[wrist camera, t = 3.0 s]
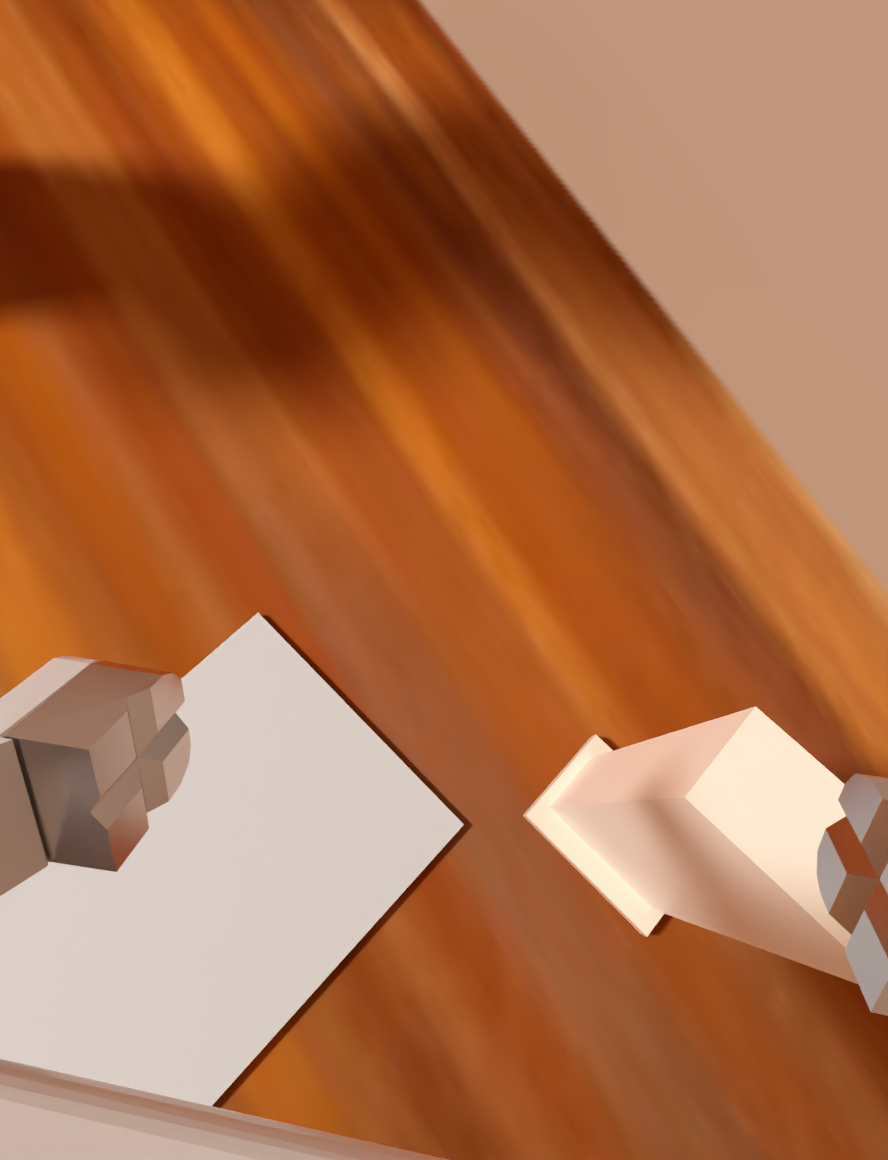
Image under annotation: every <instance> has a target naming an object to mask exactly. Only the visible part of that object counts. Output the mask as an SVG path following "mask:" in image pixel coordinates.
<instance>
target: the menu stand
mask: <svg viewBox="0 0 888 1160" xmlns="http://www.w3.org/2000/svg"><path fill="white" fill-rule="evenodd" d="M844 785H845V784H844V783H843V782H841V781H840V780H839V779H838V778H837V777H836V776H835V775H833V774H832V773H831V772H830V771H829V770H828V769H827V768H825V767H824V766H823V765H822V764H821V763H820V762H819V761H817V760H816V759H815V758H814V757H813V756H812V755H811V754H809V753H808V752H807V751H806V750H805V749H804V748H803V747H801V746H800V745H799V744H798V743H797V742H796V741H795V740H793V739H792V738H791V737H790V736H789V735H788V734H787V733H785V732H784V731H783V730H782V729H781V728H780V727H779V726H777V725H776V724H775V723H774V722H773V721H772V720H771V719H769V718H768V717H767V716H766V715H765V714H764V713H763V712H761V711H760V710H759V709H758V708H757V707H753V708H749V709H746V710H743V711H740V712H736V713H733V714H730V715H727V716H724V717H720V718H717V719H714V720H711V721H707V722H704V723H701V724H698V725H695V726H691V727H688V728H685V729H682V730H678V731H675V732H672V733H669V734H666V735H662V736H659V737H656V738H653V739H650V740H646V741H643V742H640V743H637V744H633V745H630V746H627V747H624V748H621V749H617V750H614V751H613V750H612V749H611V748H610V747H609V746H608V745H607V744H606V743H605V742H604V741H603V740H601V739H600V738H599V737H598V736H597V735H593V736H591V737H590V739H589V740H588V741H587V742H586V743H585V744H584V745H583V747H582V748H581V749H580V750H579V751H578V752H577V754H576V755H575V756H574V757H573V758H572V759H571V760H570V762H569V763H568V764H567V765H566V766H565V767H564V768H563V770H562V771H561V772H560V773H559V774H558V775H557V777H556V778H555V779H554V780H553V781H552V782H551V783H550V785H549V786H548V787H547V788H546V789H545V790H544V792H543V793H542V794H541V795H540V796H539V797H538V798H537V800H536V801H535V802H534V803H533V804H532V805H531V807H530V808H529V809H528V810H527V811H526V812H525V813H524V815H523V816H524V817H525V818H526V819H527V820H528V821H529V822H530V823H531V824H532V825H533V826H534V827H535V828H536V829H537V830H538V831H539V832H540V833H541V834H542V835H543V836H544V837H545V838H546V839H547V840H548V841H549V842H550V843H551V844H552V845H553V846H554V847H555V848H556V849H557V850H558V851H559V852H560V853H561V854H562V855H563V856H564V857H565V858H566V859H567V860H568V861H569V862H570V863H571V864H572V865H573V866H574V867H575V868H576V869H577V870H578V871H579V872H580V873H581V874H582V875H583V876H584V877H585V878H586V879H587V880H588V881H589V882H590V883H591V884H592V885H593V886H594V887H595V888H596V889H597V890H598V891H599V892H600V893H601V894H602V895H603V896H604V897H605V898H606V899H607V900H608V901H609V902H610V903H611V904H612V905H613V906H614V907H615V908H616V909H617V910H618V911H619V912H620V914H621V915H622V916H623V917H624V918H625V919H626V920H627V921H628V922H629V923H630V924H631V925H632V926H633V927H634V928H635V929H636V930H637V931H638V932H639V933H640V934H642V935H644V936H646V937H647V936H648V935H649V934H650V932H651V931H652V930H653V928H654V927H655V926H656V924H657V923H658V922H659V920H660V919H661V918H662V916H663V915H664V914H667V915H670V916H673V917H675V918H678V919H681V920H684V921H686V922H689V923H692V924H694V925H697V926H700V927H703V928H705V929H708V930H711V931H714V932H716V933H719V934H722V935H725V936H727V937H730V938H733V939H736V940H738V941H741V942H744V943H746V944H749V945H752V946H755V947H757V948H760V949H763V950H766V951H768V952H771V953H774V954H777V955H779V956H782V957H785V958H788V959H790V960H793V961H796V962H798V963H801V964H804V965H807V966H809V967H812V968H815V969H818V970H820V971H823V972H826V973H829V974H831V975H834V976H837V977H840V978H842V979H845V980H848V981H850V982H853V983H856V984H858V982H857V979H856V977H855V975H854V972H853V970H852V968H851V965H850V963H849V961H848V958H847V956H846V954H845V948H846V946H847V944H848V941H849V939H850V937H851V934H850V933H849V932H848V931H847V930H846V929H845V928H843V927H842V926H841V925H840V924H839V923H838V922H837V921H836V920H835V919H834V918H833V917H832V916H830V915H829V913H828V911H827V908H826V906H825V904H824V901H823V899H822V896H821V894H820V889H819V884H818V879H817V851H818V848H819V845H820V842H821V840H822V837H823V834H824V832H825V829H826V828H827V827H829V826H831V825H832V824H834V823H836V822H837V821H839V820H840V819H842V818H844V817H845V816H846V815H845V813H844V811H843V809H842V807H841V805H840V803H839V801H838V799H839V796H840V794H841V792H842V790H843V787H844Z"/></svg>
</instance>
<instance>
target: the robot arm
mask: <svg viewBox="0 0 888 1160" xmlns="http://www.w3.org/2000/svg"><path fill="white" fill-rule="evenodd" d="M184 702H185V698H184V692H183V687H182V681H181V679H180V678H179V677H177V676H176V675H175V674H173V673H171V672H165V671H159V670H154V669H148V668H142V667H136V666H130V665H124V664H118V663H112V662H107V661H97V660H93V659H86V658H80V657H73V656H62V657H56V658H53V659H52V660H51V661H49V662H48V663H47V664H45V665H44V666H43V667H41V668H40V669H39V670H37V671H36V672H35V673H33V674H32V675H31V676H29V677H28V678H27V679H26V680H24V681H23V682H22V683H20V684H19V685H18V686H16V687H15V688H14V689H12V690H11V691H10V692H8V693H7V694H6V695H4V696H3V697H2V698H0V896H1V895H3V894H5V893H6V892H8V891H9V890H11V889H12V888H14V887H16V886H17V885H19V884H20V883H22V882H23V881H25V880H27V879H28V878H30V877H31V876H33V875H34V874H36V873H38V872H39V871H41V870H42V869H44V868H45V867H47V866H48V862H54V863H61V864H67V865H74V866H80V867H87V868H93V869H100V870H106V871H113V872H117V871H118V870H119V868H120V867H121V866H122V864H123V863H124V862H125V860H126V859H127V857H128V856H129V855H130V853H131V852H132V851H133V849H134V848H135V847H136V845H137V844H138V843H139V841H140V840H141V839H142V837H143V836H144V835H145V833H146V832H147V830H148V829H149V823H148V814H147V813H148V812H150V811H152V810H153V809H155V808H157V807H159V806H161V805H163V804H165V803H167V802H169V800H170V799H171V798H172V796H173V795H174V793H175V792H176V790H177V789H178V788H179V786H180V785H181V783H182V780H183V777H184V775H185V772H186V769H187V767H188V764H189V758H190V748H191V742H190V733H189V728H188V727H187V726H186V725H185V724H184V722H183V721H182V720H181V719H180V717H179V716H178V715H177V714H176V712H177V711H178V710H179V708H180V707H181V706H182V704H183V703H184ZM838 801H839V803H840V805H841V807H842V809H843V811H844V813H845V815H846V816H845V817H844V818H842V819H840V820H839V821H837V822H836V823H834V824H832V825H831V826H829V827H827V828H826V829H825V832H824V834H823V837H822V840H821V842H820V845H819V848H818V851H817V879H818V884H819V889H820V894H821V896H822V899H823V901H824V904H825V906H826V908H827V911H828V913H829V915H830V916H832V917H833V918H834V919H835V920H836V921H837V922H838V923H839V924H840V925H841V926H842V927H843V928H845V929H846V930H847V931H848V932H849V933H850V934H851V937H850V939H849V941H848V944H847V946H846V948H845V954H846V956H847V958H848V961H849V963H850V965H851V968H852V970H853V972H854V975H855V977H856V979H857V982H858V984H859V986H860V989H861V991H862V993H863V996H864V998H865V1000H866V1003H867V1005H868V1007H869V1010H870V1012H872V1013H877V1014H882V1015H887V1016H888V778H885V777H878V776H871V775H864V774H856V773H855V774H854V775H853V776H852V777H851V778H850V779H849V780H848V781H847V782H846V783H845V785H844V787H843V790H842V792H841V794H840V796H839V799H838ZM0 1160H448V1159H444V1158H439V1157H435V1156H430V1155H426V1154H421V1153H417V1152H412V1151H408V1150H404V1149H399V1148H395V1147H390V1146H386V1145H381V1144H377V1143H372V1142H368V1141H364V1140H359V1139H355V1138H350V1137H346V1136H341V1135H337V1134H333V1133H328V1132H324V1131H319V1130H315V1129H310V1128H306V1127H301V1126H297V1125H293V1124H288V1123H284V1122H279V1121H275V1120H270V1119H266V1118H261V1117H257V1116H253V1115H248V1114H244V1113H239V1112H235V1111H230V1110H226V1109H221V1108H217V1107H213V1106H208V1105H204V1104H199V1103H195V1102H190V1101H186V1100H182V1099H177V1098H173V1097H168V1096H164V1095H159V1094H155V1093H151V1092H146V1091H142V1090H137V1089H133V1088H128V1087H124V1086H119V1085H115V1084H111V1083H106V1082H102V1081H97V1080H93V1079H88V1078H84V1077H80V1076H75V1075H71V1074H66V1073H62V1072H57V1071H53V1070H49V1069H44V1068H40V1067H35V1066H31V1065H26V1064H22V1063H18V1062H13V1061H9V1060H4V1059H0Z"/></svg>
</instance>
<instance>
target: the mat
mask: <svg viewBox="0 0 888 1160" xmlns="http://www.w3.org/2000/svg"><path fill="white" fill-rule="evenodd" d="M181 681H182V687H183V692H184V698H185V702H184V703H183V704H182V706H181V707H180V708H179V710H178V711H177V712H176V714H177V715H178V716H179V717H180V719H181V720H182V721H183V722H184V724H185V725H186V726H187V727H188V728H189V733H190V742H191V748H190V758H189V764H188V767H187V769H186V772H185V775H184V777H183V780H182V783H181V785H180V786H179V788H178V789H177V790H176V792H175V793H174V795H173V796H172V798H171V799H170V800H169V802H167V803H165V804H163V805H161V806H159V807H157V808H155V809H153V810H152V811H150V812H148V813H147V814H148V823H149V829H148V830H147V832H146V833H145V835H144V836H143V837H142V839H141V840H140V841H139V843H138V844H137V845H136V847H135V848H134V849H133V851H132V852H131V853H130V855H129V856H128V857H127V859H126V860H125V862H124V863H123V864H122V866H121V867H120V868H119V870H118V871H117V872H113V871H106V870H100V869H93V868H87V867H80V866H74V865H67V864H61V863H54V862H48V866H47V867H45V868H44V869H42V870H41V871H39V872H38V873H36V874H34V875H33V876H31V877H30V878H28V879H27V880H25V881H23V882H22V883H20V884H19V885H17V886H16V887H14V888H12V889H11V890H9V891H8V892H6V893H5V894H3V895H1V896H0V1059H4V1060H9V1061H13V1062H18V1063H22V1064H26V1065H31V1066H35V1067H40V1068H44V1069H49V1070H53V1071H57V1072H62V1073H66V1074H71V1075H75V1076H80V1077H84V1078H88V1079H93V1080H97V1081H102V1082H106V1083H111V1084H115V1085H119V1086H124V1087H128V1088H133V1089H137V1090H142V1091H146V1092H151V1093H155V1094H159V1095H164V1096H168V1097H173V1098H177V1099H182V1100H186V1101H190V1102H195V1103H199V1104H204V1105H208V1106H212V1105H213V1104H214V1103H215V1102H216V1101H217V1100H218V1098H219V1097H220V1096H221V1095H222V1094H223V1093H224V1092H225V1091H226V1090H227V1088H228V1087H229V1086H230V1085H231V1084H232V1083H233V1082H234V1081H235V1080H236V1078H237V1077H238V1076H239V1075H240V1074H241V1073H242V1072H243V1071H244V1069H245V1068H246V1067H247V1066H248V1065H249V1064H250V1063H251V1062H252V1061H253V1059H254V1058H255V1057H256V1056H257V1055H258V1054H259V1053H260V1052H261V1051H262V1049H263V1048H264V1047H265V1046H266V1045H267V1044H268V1043H269V1042H270V1040H271V1039H272V1038H273V1037H274V1036H275V1035H276V1034H277V1033H278V1032H279V1030H280V1029H281V1028H282V1027H283V1026H284V1025H285V1024H286V1023H287V1021H288V1020H289V1019H290V1018H291V1017H292V1016H293V1015H294V1014H295V1013H296V1011H297V1010H298V1009H299V1008H300V1007H301V1006H302V1005H303V1004H304V1003H305V1001H306V1000H307V999H308V998H309V997H310V996H311V995H312V994H313V992H314V991H315V990H316V989H317V988H318V987H319V986H320V985H321V984H322V982H323V981H324V980H325V979H326V978H327V977H328V976H329V975H330V974H331V972H332V971H333V970H334V969H335V968H336V967H337V966H338V965H339V963H340V962H341V961H342V960H343V959H344V958H345V957H346V956H347V955H348V953H349V952H350V951H351V950H352V949H353V948H354V947H355V946H356V945H357V943H358V942H359V941H360V940H361V939H362V938H363V937H364V936H365V934H366V933H367V932H368V931H369V930H370V929H371V928H372V927H373V926H374V924H375V923H376V922H377V921H378V920H379V919H380V918H381V917H382V916H383V914H384V913H385V912H386V911H387V910H388V909H389V908H390V907H391V905H392V904H393V903H394V902H395V901H396V900H397V899H398V898H399V897H400V895H401V894H402V893H403V892H404V891H405V890H406V889H407V888H408V887H409V885H410V884H411V883H412V882H413V881H414V880H415V879H416V878H417V876H418V875H419V874H420V873H421V872H422V871H423V870H424V869H425V868H426V866H427V865H428V864H429V863H430V862H431V861H432V860H433V859H434V858H435V856H436V855H437V854H438V853H439V852H440V851H441V850H442V849H443V847H444V846H445V845H446V844H447V843H448V842H449V841H450V840H451V839H452V837H453V836H454V835H455V834H456V833H457V832H458V831H459V830H460V829H461V827H462V826H463V825H464V824H463V823H462V822H461V821H460V820H459V819H458V818H457V817H456V816H455V815H454V814H453V813H452V812H451V811H450V810H449V809H448V808H447V807H446V806H445V805H444V804H443V802H442V801H441V800H440V799H439V798H438V797H437V796H436V795H435V794H434V793H433V792H432V791H431V790H430V789H429V788H428V787H427V786H426V785H425V784H424V783H423V782H422V781H421V780H420V779H419V778H418V777H417V776H416V775H415V774H414V773H413V772H412V771H411V769H410V768H409V767H408V766H407V765H406V764H405V763H404V762H403V761H402V760H401V759H400V758H399V757H398V756H397V755H396V754H395V753H394V752H393V751H392V750H391V749H390V748H389V747H388V746H387V745H386V744H385V743H384V742H383V741H382V740H381V739H380V738H379V737H378V735H377V734H376V733H375V732H374V731H373V730H372V729H371V728H370V727H369V726H368V725H367V724H366V723H365V722H364V721H363V720H362V719H361V718H360V717H359V716H358V715H357V714H356V713H355V712H354V711H353V710H352V709H351V708H350V707H349V706H348V705H347V704H346V703H345V701H344V700H343V699H342V698H341V697H340V696H339V695H338V694H337V693H336V692H335V691H334V690H333V689H332V688H331V687H330V686H329V685H328V684H327V683H326V682H325V681H324V680H323V679H322V678H321V677H320V676H319V675H318V674H317V673H316V672H315V671H314V670H313V668H312V667H311V666H310V665H309V664H308V663H307V662H306V661H305V660H304V659H303V658H302V657H301V656H300V655H299V654H298V653H297V652H296V651H295V650H294V649H293V648H292V647H291V646H290V645H289V644H288V643H287V642H286V641H285V640H284V639H283V638H282V637H281V636H280V634H279V633H278V632H277V631H276V630H275V629H274V628H273V627H272V626H271V625H270V624H269V623H268V622H267V621H266V620H265V619H264V618H263V617H262V616H261V615H260V614H259V613H257V614H256V615H255V616H253V617H252V618H251V619H250V620H249V621H248V622H247V623H245V624H244V625H243V626H242V627H241V628H240V629H238V630H237V631H236V632H235V633H234V634H233V635H232V636H230V637H229V638H228V639H227V640H226V641H225V642H223V643H222V644H221V645H220V646H219V647H218V648H217V649H215V650H214V651H213V652H212V653H211V654H210V655H208V656H207V657H206V658H205V659H204V660H203V661H202V662H200V663H199V664H198V665H197V666H196V667H195V668H193V669H192V670H191V671H190V672H189V673H188V674H187V675H185V676H184V677H183V678H182V679H181Z"/></svg>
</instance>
